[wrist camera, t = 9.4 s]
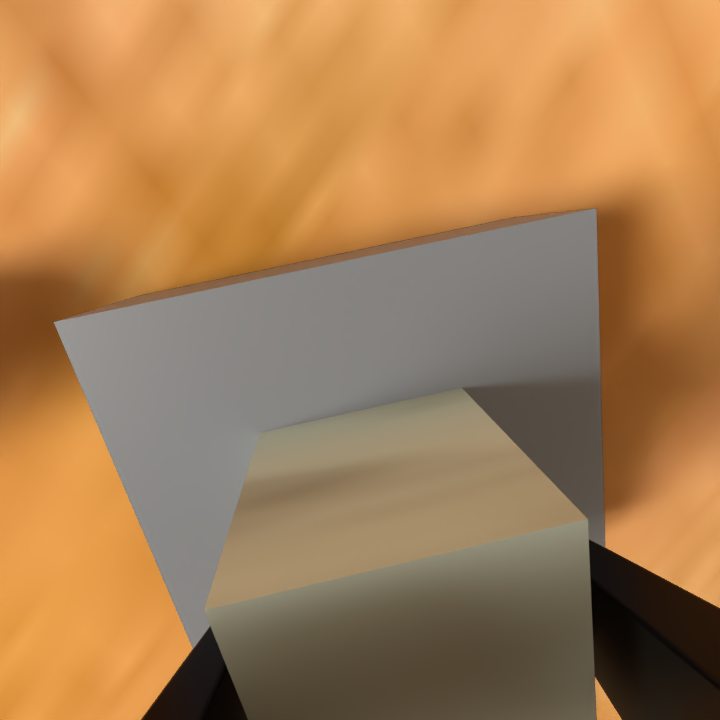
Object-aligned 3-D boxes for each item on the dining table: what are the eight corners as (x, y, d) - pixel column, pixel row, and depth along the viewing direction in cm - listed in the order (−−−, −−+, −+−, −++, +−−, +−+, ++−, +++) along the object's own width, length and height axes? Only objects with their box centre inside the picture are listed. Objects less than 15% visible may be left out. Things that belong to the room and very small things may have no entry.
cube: (483, 551, 12) (598, 770, 7) (308, 593, 11) (299, 847, 7) (461, 387, 10) (587, 519, 5) (259, 432, 10) (203, 609, 5)
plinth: (540, 529, 16) (607, 617, 13) (243, 599, 16) (219, 711, 12) (515, 217, 13) (596, 207, 9) (134, 296, 13) (53, 322, 9)
